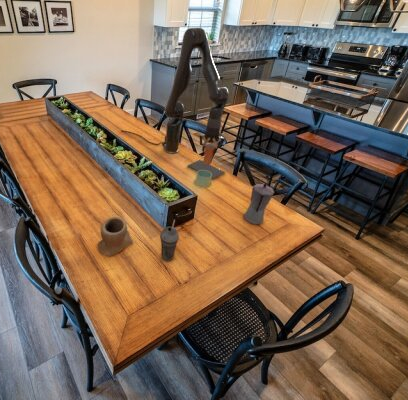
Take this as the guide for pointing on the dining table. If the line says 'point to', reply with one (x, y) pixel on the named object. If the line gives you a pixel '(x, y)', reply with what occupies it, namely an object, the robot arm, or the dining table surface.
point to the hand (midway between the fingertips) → (209, 152)
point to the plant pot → (208, 153)
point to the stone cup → (114, 236)
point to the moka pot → (258, 203)
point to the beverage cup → (169, 242)
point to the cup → (203, 178)
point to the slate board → (206, 168)
